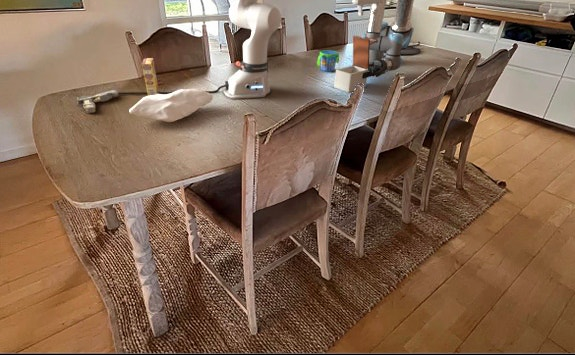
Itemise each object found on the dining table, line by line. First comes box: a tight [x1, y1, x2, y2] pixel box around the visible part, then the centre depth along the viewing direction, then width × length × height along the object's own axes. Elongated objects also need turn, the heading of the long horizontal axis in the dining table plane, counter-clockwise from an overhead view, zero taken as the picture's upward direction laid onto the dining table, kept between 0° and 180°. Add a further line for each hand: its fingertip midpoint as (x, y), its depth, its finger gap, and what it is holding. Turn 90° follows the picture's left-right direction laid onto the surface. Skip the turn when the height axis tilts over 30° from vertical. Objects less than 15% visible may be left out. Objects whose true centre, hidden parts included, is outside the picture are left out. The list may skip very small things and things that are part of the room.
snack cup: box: [316, 49, 340, 73], centre depth 207 cm, size 16×10×10 cm
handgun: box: [76, 89, 120, 114], centre depth 155 cm, size 3×18×15 cm
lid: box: [352, 35, 378, 69], centre depth 182 cm, size 15×10×9 cm
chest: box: [333, 64, 368, 93], centre depth 184 cm, size 14×10×9 cm
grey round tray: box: [383, 46, 421, 55], centre depth 258 cm, size 35×35×9 cm
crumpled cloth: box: [129, 88, 214, 123], centre depth 147 cm, size 24×35×9 cm
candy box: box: [141, 57, 160, 96], centre depth 163 cm, size 9×4×15 cm, turn 13°
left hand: (366, 14), depth 171 cm, fingers open, 8 cm apart
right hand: (355, 73), depth 184 cm, fingers closed on chest, 9 cm apart
